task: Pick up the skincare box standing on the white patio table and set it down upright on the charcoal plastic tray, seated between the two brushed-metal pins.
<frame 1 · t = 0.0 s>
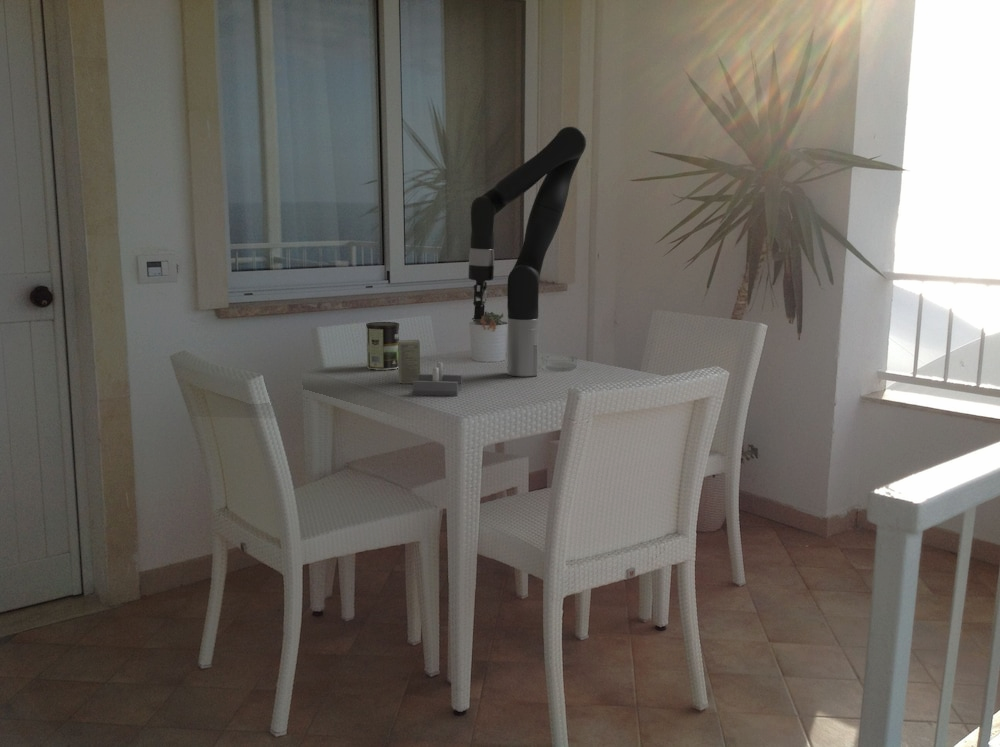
hand: (479, 317, 285), 17 cm above the table, tool pointing down, fingers open, 8 cm apart
skincare box: (409, 382, 273), on the table
tray: (437, 390, 260), on the table
coffee can: (383, 368, 296), on the table
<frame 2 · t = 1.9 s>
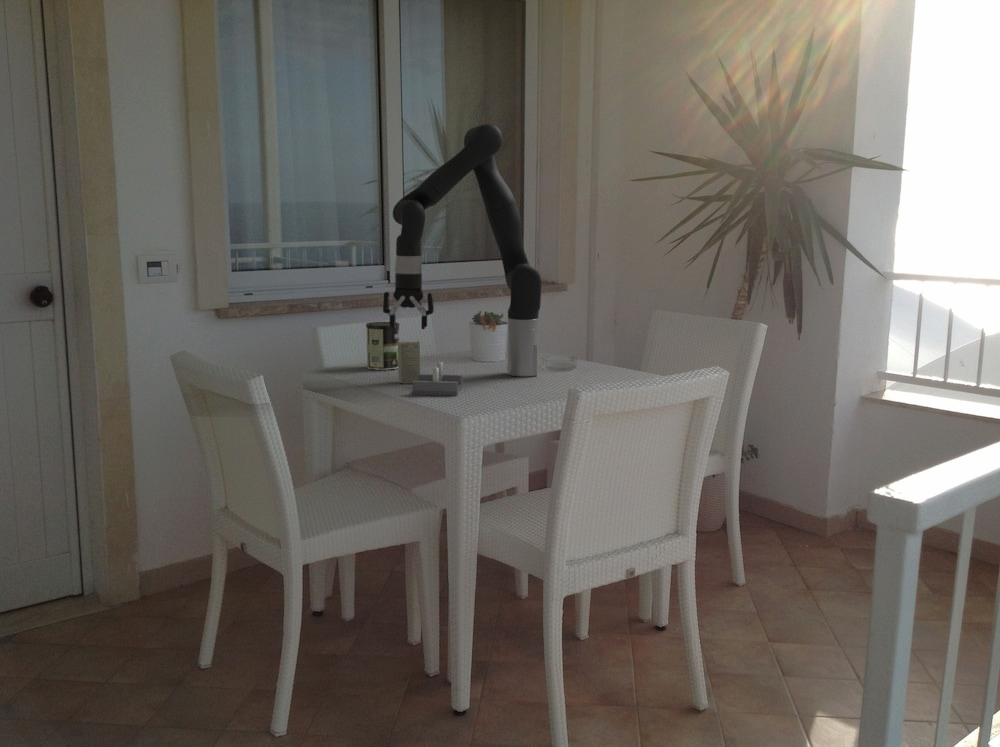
hand: (408, 328, 270), 16 cm above the table, tool pointing down, fingers open, 8 cm apart
nothing on the table moved.
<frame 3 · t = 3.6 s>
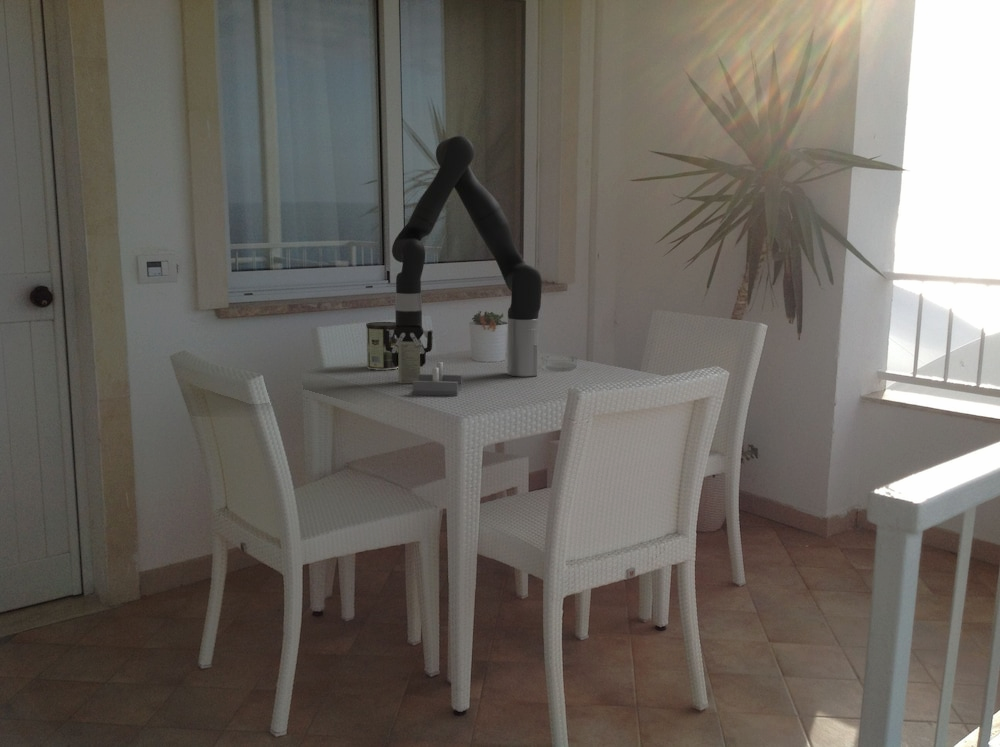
hand: (408, 365, 272), 5 cm above the table, tool pointing down, fingers closed on skincare box, 7 cm apart
skincare box: (409, 382, 273), on the table, touching gripper
everything else where it was.
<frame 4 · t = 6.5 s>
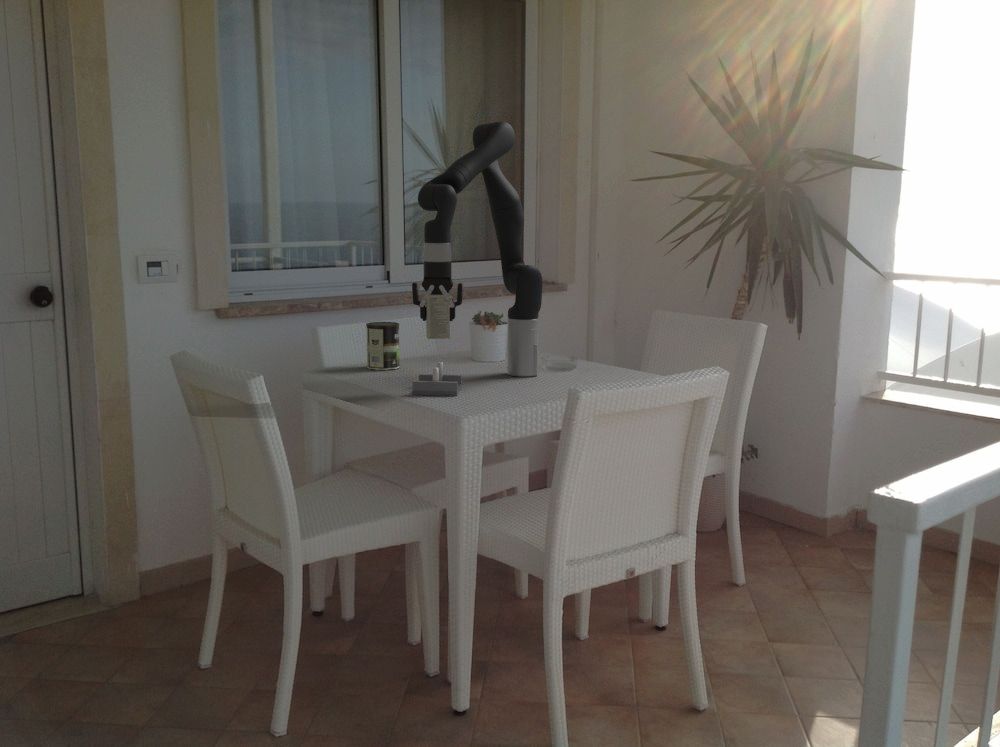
hand: (437, 320, 257), 20 cm above the table, tool pointing down, fingers closed on skincare box, 7 cm apart
skincare box: (437, 338, 258), point 14 cm above the table, touching gripper
everything else where it was.
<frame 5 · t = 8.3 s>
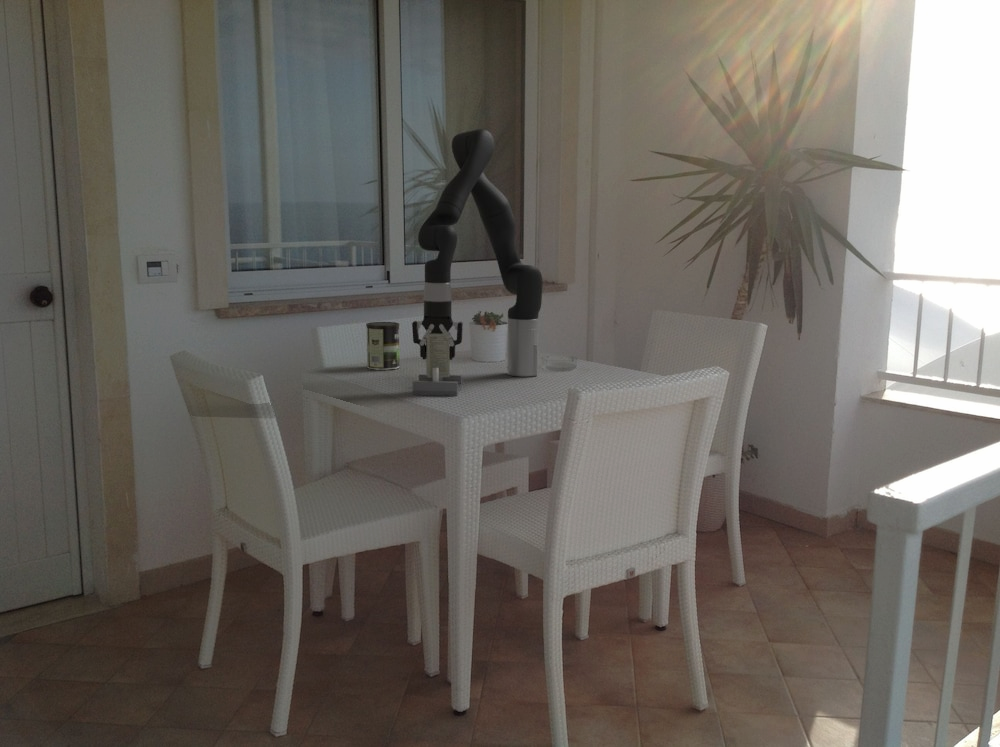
hand: (437, 359, 259), 9 cm above the table, tool pointing down, fingers closed on skincare box, 7 cm apart
skincare box: (437, 377, 260), point 4 cm above the table, touching gripper
everything else where it was.
when the fingers open (8 cm above the table, at t = 9.6 s): skincare box drops 2 cm, resting on tray.
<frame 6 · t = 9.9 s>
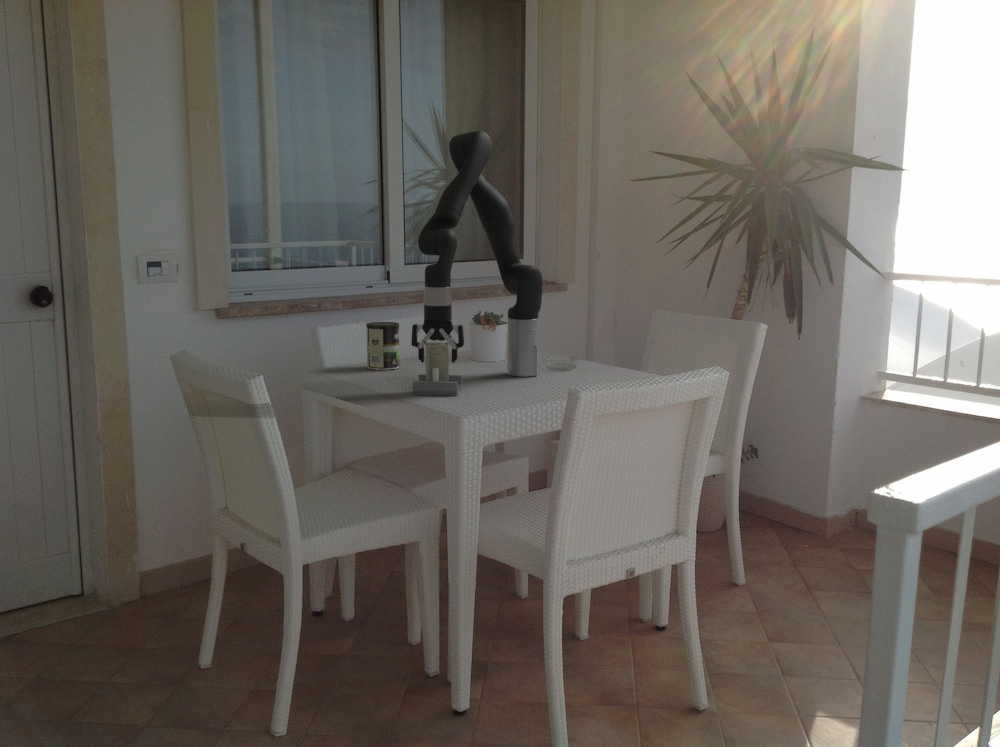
hand: (437, 362, 259), 8 cm above the table, tool pointing down, fingers open, 8 cm apart
skincare box: (437, 387, 260), point 1 cm above the table, touching tray
everything else where it was.
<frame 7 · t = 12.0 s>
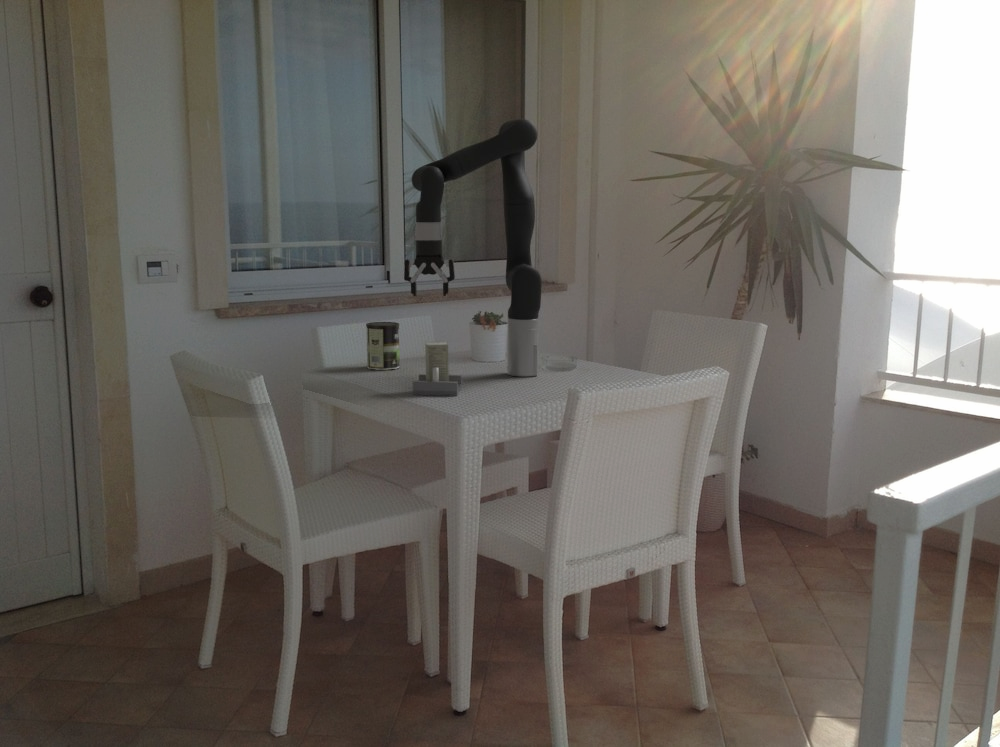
hand: (429, 295, 270), 25 cm above the table, tool pointing down, fingers open, 8 cm apart
nothing on the table moved.
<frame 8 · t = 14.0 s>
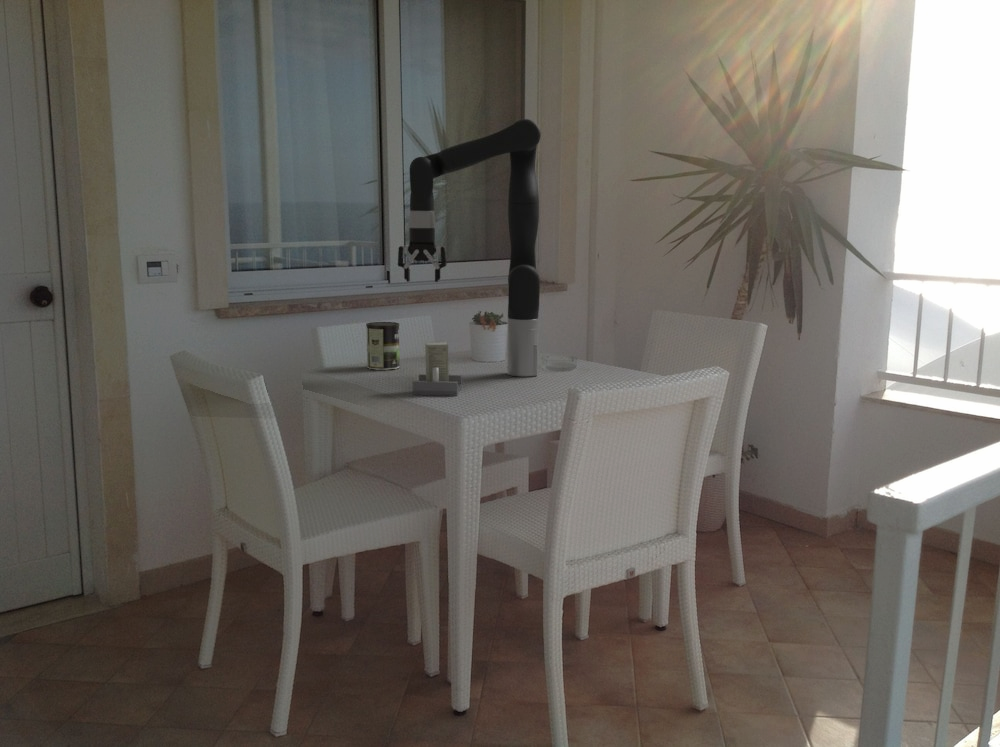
hand: (422, 281, 281), 28 cm above the table, tool pointing down, fingers open, 8 cm apart
nothing on the table moved.
at the end: skincare box 0.2 cm off-centre on the tray, point 1.0 cm above the tray's base; skincare box tilted 0°; the gripper is holding nothing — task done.
